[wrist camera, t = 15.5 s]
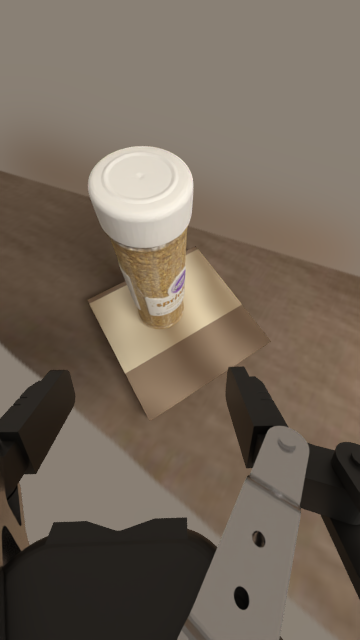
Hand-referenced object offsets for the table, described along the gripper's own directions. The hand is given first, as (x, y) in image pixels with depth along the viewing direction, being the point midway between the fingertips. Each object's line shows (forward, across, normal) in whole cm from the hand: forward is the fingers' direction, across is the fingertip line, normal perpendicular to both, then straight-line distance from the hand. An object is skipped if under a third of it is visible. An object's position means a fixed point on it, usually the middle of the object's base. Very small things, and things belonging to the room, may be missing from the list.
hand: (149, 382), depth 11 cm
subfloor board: (+12, -2, +2) cm, 12 cm away
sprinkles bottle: (+11, 0, 0) cm, 11 cm away
